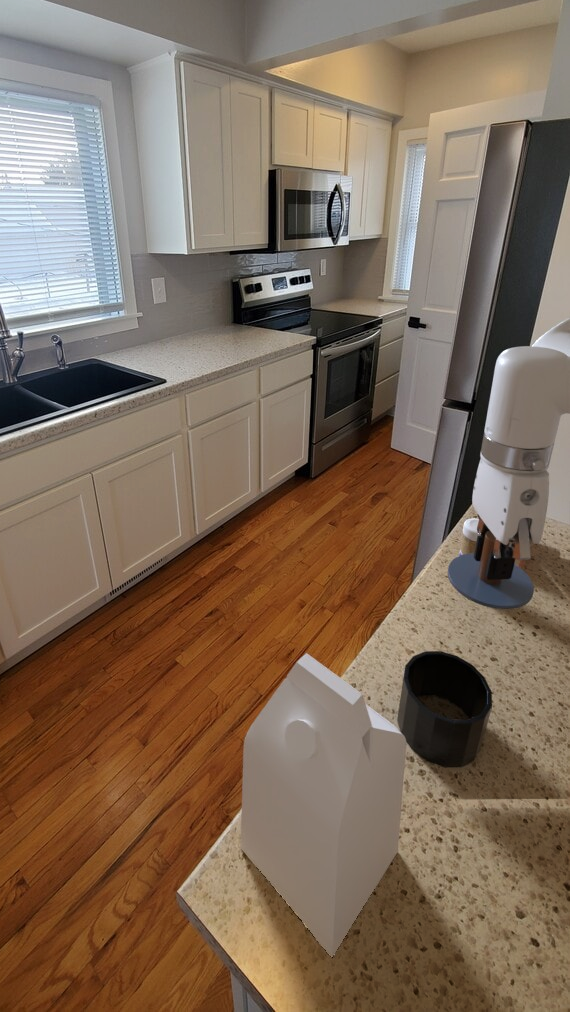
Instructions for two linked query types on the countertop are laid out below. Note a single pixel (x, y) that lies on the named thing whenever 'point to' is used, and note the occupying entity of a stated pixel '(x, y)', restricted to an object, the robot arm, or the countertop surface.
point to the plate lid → (489, 593)
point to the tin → (434, 732)
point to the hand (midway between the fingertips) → (491, 567)
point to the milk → (322, 798)
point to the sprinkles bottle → (469, 536)
